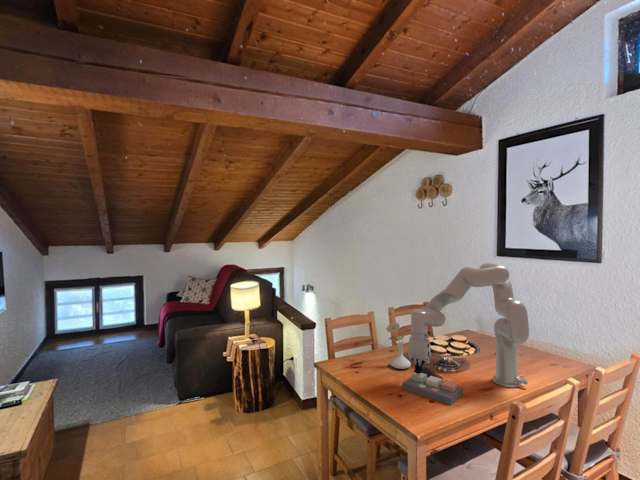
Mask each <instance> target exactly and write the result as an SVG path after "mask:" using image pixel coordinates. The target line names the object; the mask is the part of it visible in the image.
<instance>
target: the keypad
mask: <svg viewBox="0 0 640 480" xmlns="http://www.w3.org/2000/svg"><path fill="white" fill-rule="evenodd" d="M427 378H429V377H427ZM443 382H444V381H443V380H442V383H443ZM463 387H464V386H463ZM463 387H462V386H460V385H458V390H457V391H456V392H455V393H452V392H449V391H446V390H443V389H442V385H441V386H439V387H438V388H436V387H433V386H430V385H427V384H426V381H425V382H423V383H420V382H417V381H414V380H412V376H410V377H409V378H408V379H406V380H405V381H404V382H402V390H404V391H407V392H410V393H413V394H416V395H418V396H419V395H420V396H422V397H425V398H428V399H430V400H434V401H437V402H440V403H443V404H445V405H449V406H452V405H453V404H454V403H455V402H456V401H457V400H458V399H459V398H460V397H461V396H462V395H464V388H463Z"/></svg>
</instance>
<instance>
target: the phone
mask: <svg viewBox="0 0 640 480" xmlns="http://www.w3.org/2000/svg"><path fill="white" fill-rule="evenodd" d="M413 370H414V373H415V372H416V371H415V368H414V369H413ZM421 373H423V374H427V377H430V376H434V377H437V378H441V379H442V381H443V380H444V379H443V377H442V376H440V374H438V373H436V372H434V371H433V370H431V369H429V368H428V367H422V372H421Z"/></svg>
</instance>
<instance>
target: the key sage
mask: <svg viewBox="0 0 640 480" xmlns="http://www.w3.org/2000/svg"><path fill="white" fill-rule="evenodd" d="M411 377H412V380H414V381H417V382H420V383H423V382H425V381H426V379H427V374H423V373H420V374H418V373H416V372H415V371H414V373H412V374H411Z"/></svg>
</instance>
